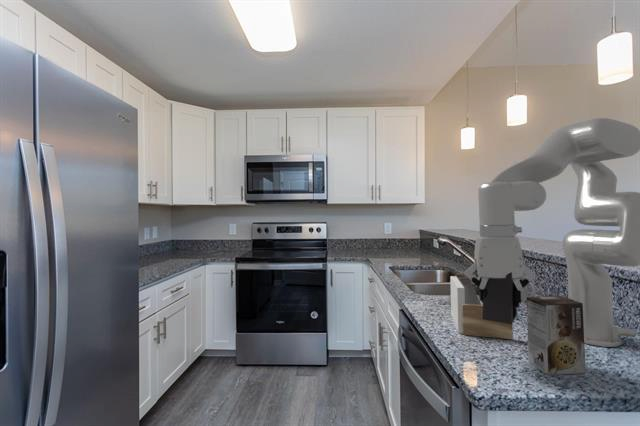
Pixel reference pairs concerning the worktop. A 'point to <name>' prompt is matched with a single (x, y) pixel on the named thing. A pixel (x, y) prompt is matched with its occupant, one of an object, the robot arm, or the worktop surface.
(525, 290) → the cup
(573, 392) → the worktop surface
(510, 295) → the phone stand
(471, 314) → the door
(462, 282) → the coffee pot
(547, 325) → the coffee box
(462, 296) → the wall frame
